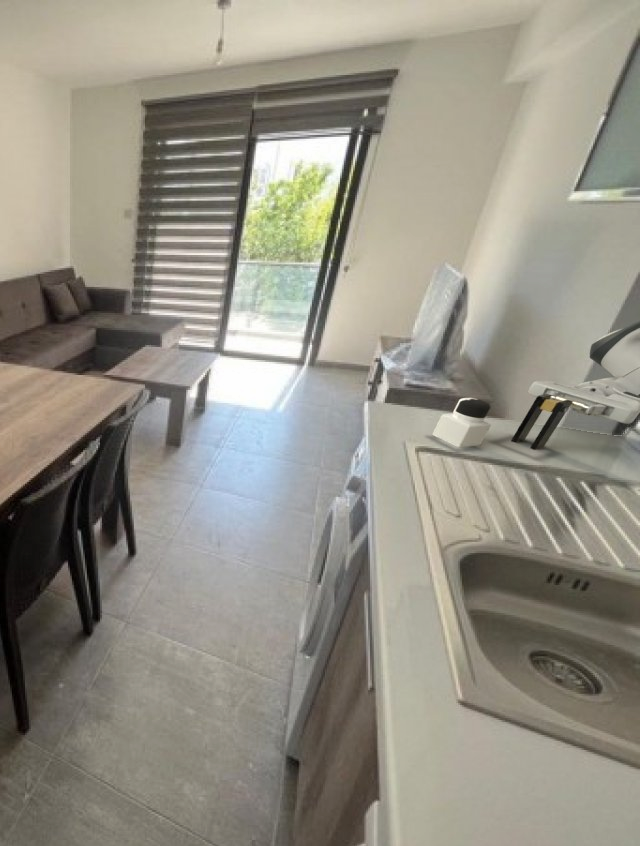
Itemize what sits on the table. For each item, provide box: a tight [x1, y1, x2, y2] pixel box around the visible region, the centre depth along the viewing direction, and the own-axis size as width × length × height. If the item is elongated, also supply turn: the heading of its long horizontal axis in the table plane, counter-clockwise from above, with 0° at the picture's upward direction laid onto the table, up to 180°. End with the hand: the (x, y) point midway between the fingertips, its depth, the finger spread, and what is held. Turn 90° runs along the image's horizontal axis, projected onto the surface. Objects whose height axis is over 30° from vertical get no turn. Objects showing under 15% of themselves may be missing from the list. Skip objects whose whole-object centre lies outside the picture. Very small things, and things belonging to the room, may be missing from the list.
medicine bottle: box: [432, 397, 492, 448], centre depth 119 cm, size 7×7×12 cm
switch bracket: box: [510, 394, 573, 451], centre depth 118 cm, size 10×9×14 cm
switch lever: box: [540, 396, 586, 413], centre depth 117 cm, size 12×6×2 cm, turn 114°
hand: (567, 403), depth 119 cm, fingers closed on switch lever, 5 cm apart
